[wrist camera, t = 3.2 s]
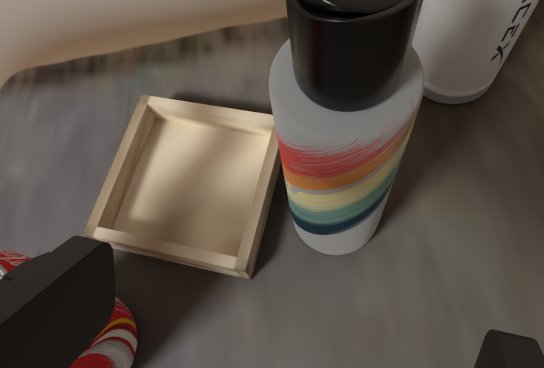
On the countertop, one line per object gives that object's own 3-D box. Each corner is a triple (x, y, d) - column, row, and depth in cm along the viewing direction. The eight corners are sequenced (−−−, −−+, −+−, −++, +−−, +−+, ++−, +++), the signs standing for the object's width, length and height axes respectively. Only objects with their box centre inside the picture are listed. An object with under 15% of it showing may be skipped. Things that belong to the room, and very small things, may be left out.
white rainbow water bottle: (289, 180, 31) (243, -99, 13) (371, 172, 31) (441, -127, 13) (295, 260, 29) (251, 55, 11) (384, 253, 29) (494, 27, 10)
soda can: (43, 428, 26) (-153, 461, 16) (29, 313, 29) (-144, 273, 18) (156, 384, 27) (43, 385, 16) (131, 274, 30) (21, 212, 19)
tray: (288, 135, 33) (286, 117, 30) (251, 279, 29) (244, 271, 26) (153, 113, 35) (141, 94, 32) (100, 245, 31) (82, 234, 29)
